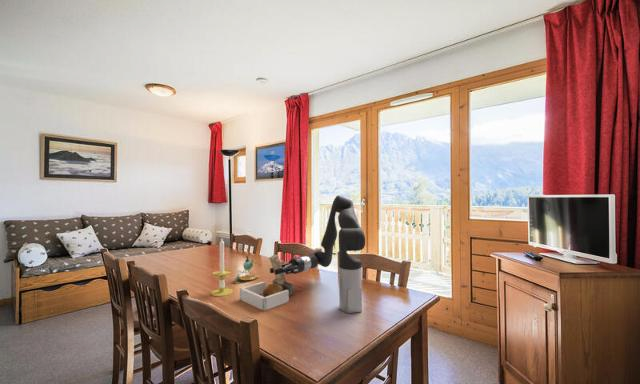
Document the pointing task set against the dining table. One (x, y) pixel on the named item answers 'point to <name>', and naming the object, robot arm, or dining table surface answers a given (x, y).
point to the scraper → (280, 277)
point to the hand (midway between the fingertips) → (272, 271)
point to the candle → (221, 275)
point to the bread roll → (272, 289)
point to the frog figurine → (248, 266)
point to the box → (263, 303)
